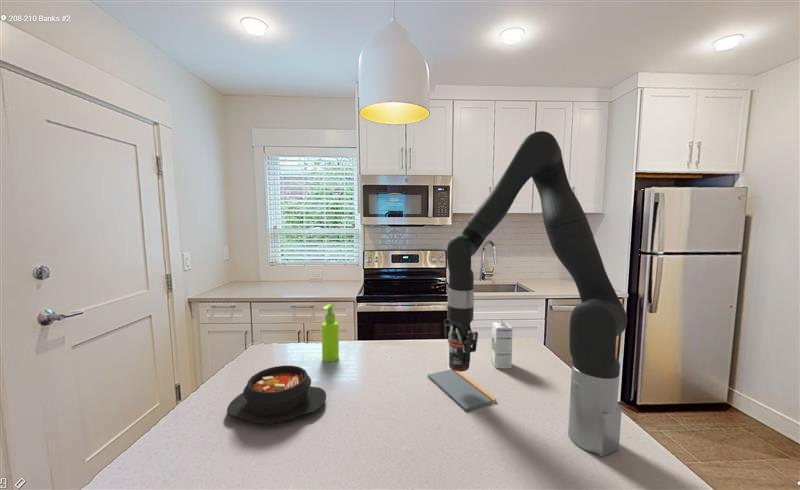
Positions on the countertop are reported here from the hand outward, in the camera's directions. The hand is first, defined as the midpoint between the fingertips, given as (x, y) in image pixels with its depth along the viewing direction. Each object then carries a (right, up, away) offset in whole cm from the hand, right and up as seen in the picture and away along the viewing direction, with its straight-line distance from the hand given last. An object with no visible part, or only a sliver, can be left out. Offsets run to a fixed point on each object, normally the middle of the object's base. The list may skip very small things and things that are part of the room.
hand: (458, 359), depth 93 cm
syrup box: (+18, -9, +18) cm, 27 cm away
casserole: (-50, -10, -8) cm, 52 cm away
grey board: (+1, -10, +2) cm, 10 cm away
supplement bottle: (0, -3, 0) cm, 3 cm away
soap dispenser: (-43, -8, +21) cm, 49 cm away
